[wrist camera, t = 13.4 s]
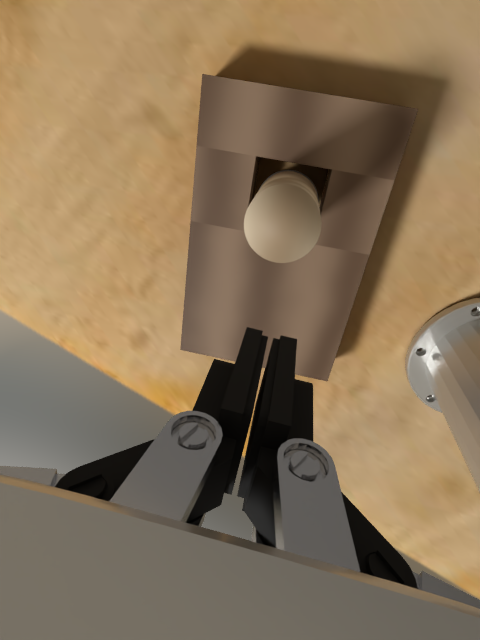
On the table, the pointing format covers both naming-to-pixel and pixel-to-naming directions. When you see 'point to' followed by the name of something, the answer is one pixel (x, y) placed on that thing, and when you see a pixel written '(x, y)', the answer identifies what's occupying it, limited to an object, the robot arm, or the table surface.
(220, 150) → the walnut board
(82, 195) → the table surface
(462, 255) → the table surface
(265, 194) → the beech leg
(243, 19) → the table surface
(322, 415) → the table surface
